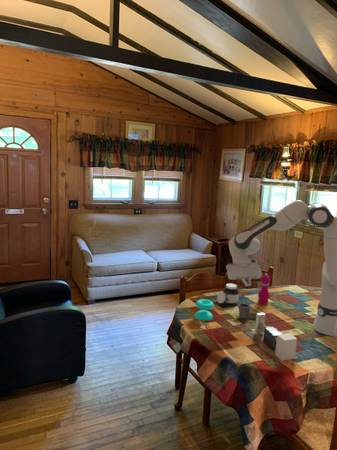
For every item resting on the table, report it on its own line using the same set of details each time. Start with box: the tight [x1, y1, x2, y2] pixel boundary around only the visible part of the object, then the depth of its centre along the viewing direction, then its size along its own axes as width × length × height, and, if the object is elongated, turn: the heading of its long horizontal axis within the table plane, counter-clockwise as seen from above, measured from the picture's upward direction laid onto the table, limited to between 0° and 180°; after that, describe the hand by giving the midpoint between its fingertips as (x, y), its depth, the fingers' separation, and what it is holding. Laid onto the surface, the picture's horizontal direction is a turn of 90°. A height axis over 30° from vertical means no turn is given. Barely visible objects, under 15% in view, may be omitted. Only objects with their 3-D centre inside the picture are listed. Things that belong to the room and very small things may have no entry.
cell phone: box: [199, 323, 210, 331], centre depth 185 cm, size 9×18×1 cm, turn 69°
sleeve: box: [263, 326, 283, 350], centre depth 168 cm, size 5×8×8 cm, turn 18°
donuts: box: [194, 298, 215, 322], centre depth 195 cm, size 10×10×10 cm
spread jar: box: [216, 283, 240, 306], centre depth 219 cm, size 12×11×12 cm
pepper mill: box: [257, 272, 271, 305], centre depth 222 cm, size 7×7×20 cm
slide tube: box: [254, 312, 277, 343], centre depth 171 cm, size 4×18×10 cm, turn 17°
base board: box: [245, 330, 300, 362], centre depth 170 cm, size 13×28×1 cm, turn 18°
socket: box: [275, 333, 298, 362], centre depth 158 cm, size 7×5×10 cm
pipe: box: [237, 303, 258, 320], centre depth 198 cm, size 6×13×8 cm, turn 78°
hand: (248, 285), depth 190 cm, fingers closed
